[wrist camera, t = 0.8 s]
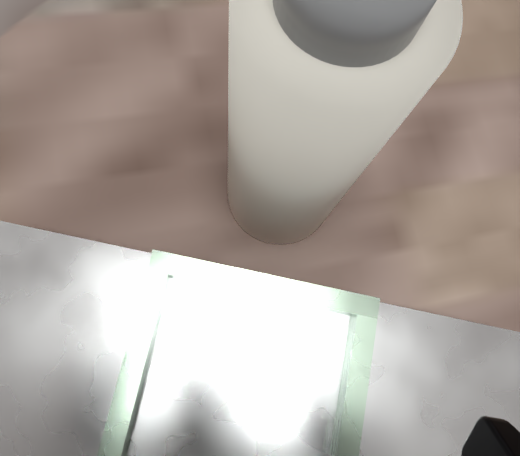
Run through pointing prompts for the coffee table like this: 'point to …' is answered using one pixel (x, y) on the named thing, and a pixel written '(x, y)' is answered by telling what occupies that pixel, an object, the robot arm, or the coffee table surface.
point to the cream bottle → (322, 99)
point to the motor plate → (228, 361)
